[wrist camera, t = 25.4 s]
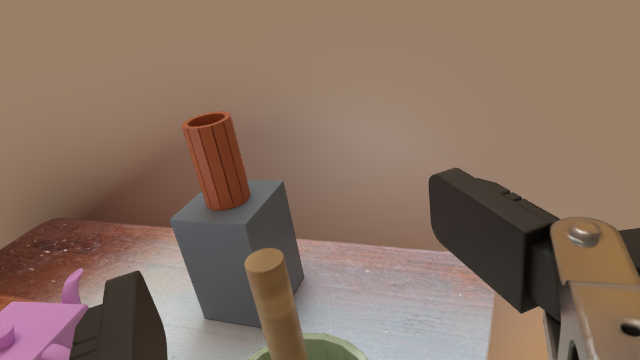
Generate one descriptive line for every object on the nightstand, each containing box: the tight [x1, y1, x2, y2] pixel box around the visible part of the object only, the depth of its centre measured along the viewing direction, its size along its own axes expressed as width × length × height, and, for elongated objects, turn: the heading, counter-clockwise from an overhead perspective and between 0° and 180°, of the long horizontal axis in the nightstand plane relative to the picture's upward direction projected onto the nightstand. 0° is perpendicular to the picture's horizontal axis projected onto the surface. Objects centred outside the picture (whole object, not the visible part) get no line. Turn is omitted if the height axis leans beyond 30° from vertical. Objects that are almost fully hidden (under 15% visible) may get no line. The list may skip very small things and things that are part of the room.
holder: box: [170, 112, 304, 328], centre depth 44 cm, size 8×8×20 cm
